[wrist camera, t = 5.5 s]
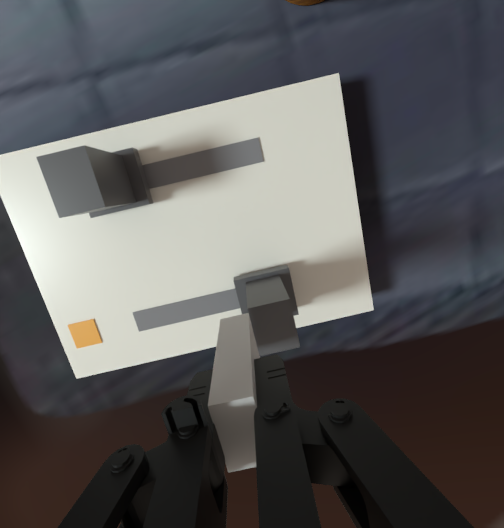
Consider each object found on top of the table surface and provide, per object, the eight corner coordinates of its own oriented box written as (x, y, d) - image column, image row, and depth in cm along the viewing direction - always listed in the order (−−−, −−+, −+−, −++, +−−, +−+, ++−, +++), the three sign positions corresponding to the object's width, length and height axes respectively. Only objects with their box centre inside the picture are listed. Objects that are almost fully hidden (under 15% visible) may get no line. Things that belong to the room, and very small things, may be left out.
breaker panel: (326, 86, 24) (339, 72, 21) (359, 297, 28) (374, 310, 25) (15, 161, 24) (-16, 158, 21) (93, 358, 28) (75, 379, 25)
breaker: (137, 149, 21) (98, 134, 15) (153, 203, 22) (122, 209, 16) (78, 163, 21) (17, 154, 15) (97, 216, 22) (46, 227, 16)
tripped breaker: (287, 264, 23) (302, 290, 17) (296, 309, 24) (314, 348, 18) (233, 276, 23) (231, 306, 18) (245, 321, 24) (246, 363, 18)
